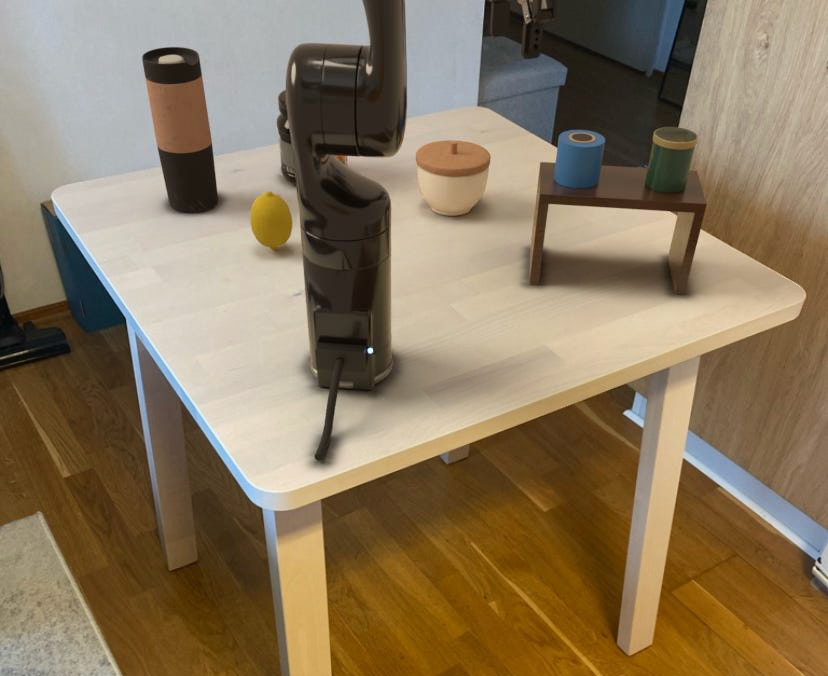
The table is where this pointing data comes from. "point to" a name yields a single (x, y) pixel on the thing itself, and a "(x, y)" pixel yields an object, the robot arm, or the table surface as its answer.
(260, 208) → the lemon
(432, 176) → the trinket box
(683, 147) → the tea tin
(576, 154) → the tape roll
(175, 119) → the travel mug
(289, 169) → the supplement container
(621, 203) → the shelf
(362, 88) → the robot arm
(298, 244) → the table surface
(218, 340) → the table surface
